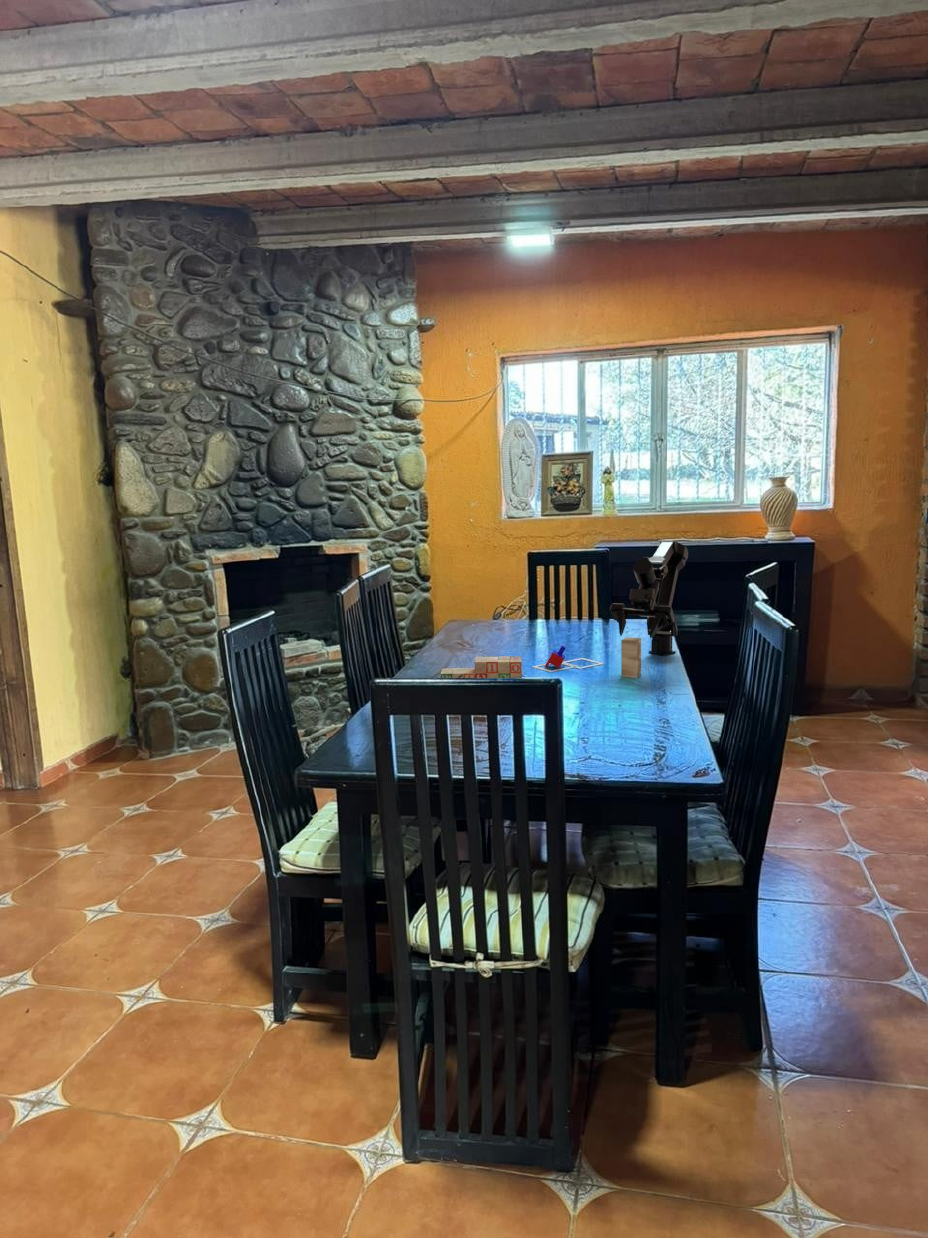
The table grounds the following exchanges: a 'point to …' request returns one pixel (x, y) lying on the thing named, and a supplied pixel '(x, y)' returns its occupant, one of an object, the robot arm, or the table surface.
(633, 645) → the beech pillar
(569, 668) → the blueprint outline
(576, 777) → the table surface
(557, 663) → the toy building block
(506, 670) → the stack of blocks
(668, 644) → the robot arm
